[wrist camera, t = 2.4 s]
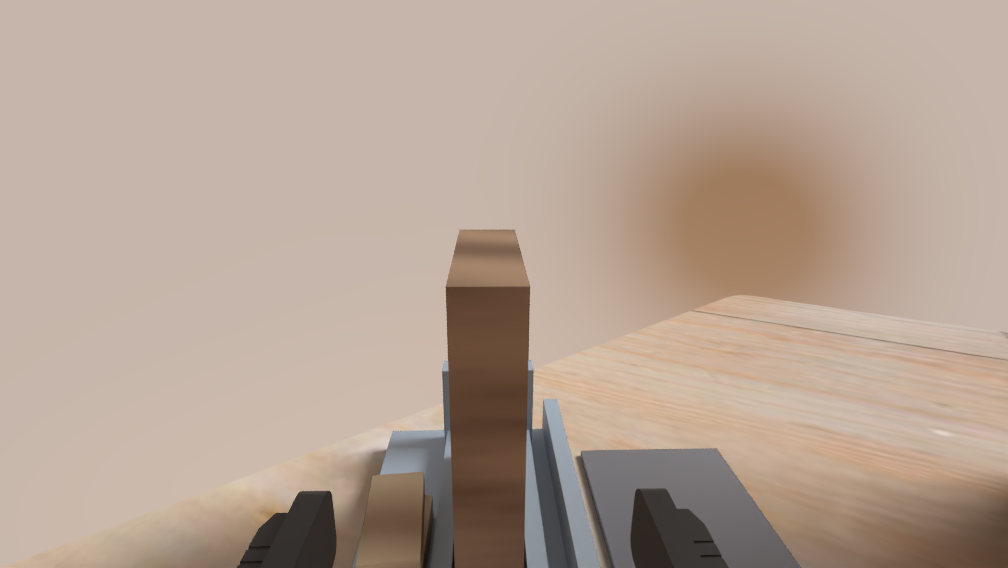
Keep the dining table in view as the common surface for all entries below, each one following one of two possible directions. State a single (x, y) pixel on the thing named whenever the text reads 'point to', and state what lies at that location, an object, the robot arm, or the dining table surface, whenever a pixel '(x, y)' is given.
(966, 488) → the dining table surface
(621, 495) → the mat
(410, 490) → the offcut upper
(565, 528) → the rack
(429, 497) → the offcut lower
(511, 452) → the walnut board
